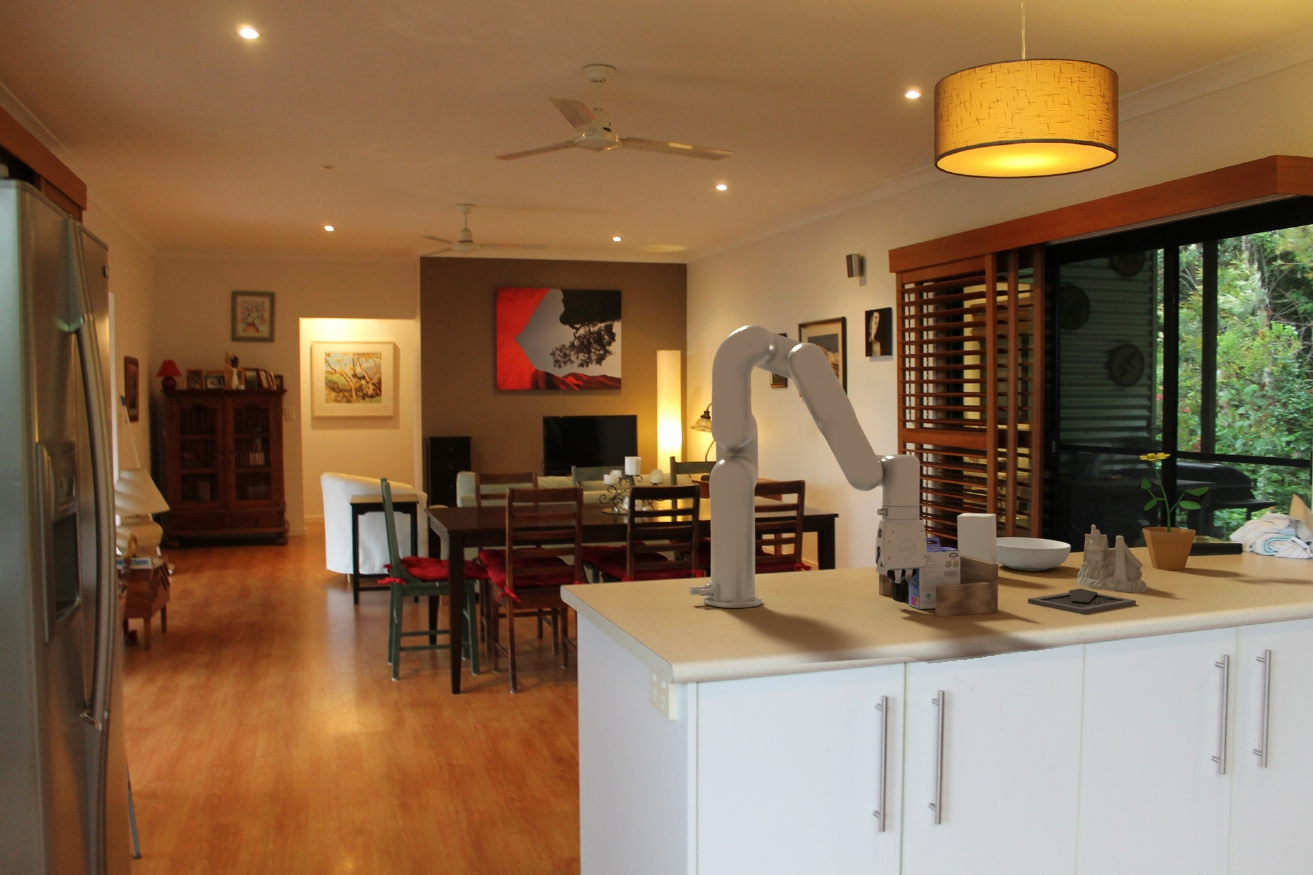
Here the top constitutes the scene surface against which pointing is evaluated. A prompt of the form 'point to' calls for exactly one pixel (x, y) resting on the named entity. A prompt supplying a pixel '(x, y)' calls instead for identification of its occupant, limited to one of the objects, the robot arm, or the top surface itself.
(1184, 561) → the potted plant
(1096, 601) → the picture frame
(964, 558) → the book rack
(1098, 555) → the ceramic cottage
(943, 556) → the ink cartridge box
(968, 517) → the skincare box
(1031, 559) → the serving bowl
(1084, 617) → the top surface
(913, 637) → the top surface
